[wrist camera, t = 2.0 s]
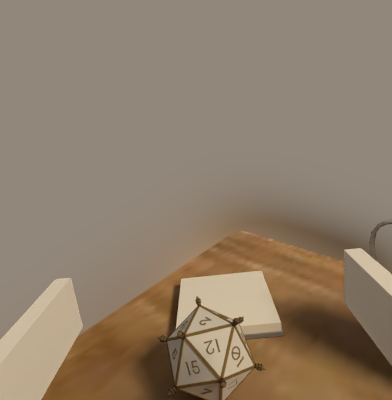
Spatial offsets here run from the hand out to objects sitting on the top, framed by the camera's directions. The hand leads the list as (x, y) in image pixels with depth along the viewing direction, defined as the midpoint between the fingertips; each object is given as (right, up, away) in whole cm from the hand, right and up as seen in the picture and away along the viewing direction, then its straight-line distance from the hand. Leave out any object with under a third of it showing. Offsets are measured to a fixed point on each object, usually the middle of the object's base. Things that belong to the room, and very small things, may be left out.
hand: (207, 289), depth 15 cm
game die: (+1, -13, +15) cm, 20 cm away
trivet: (+3, -10, +26) cm, 28 cm away
